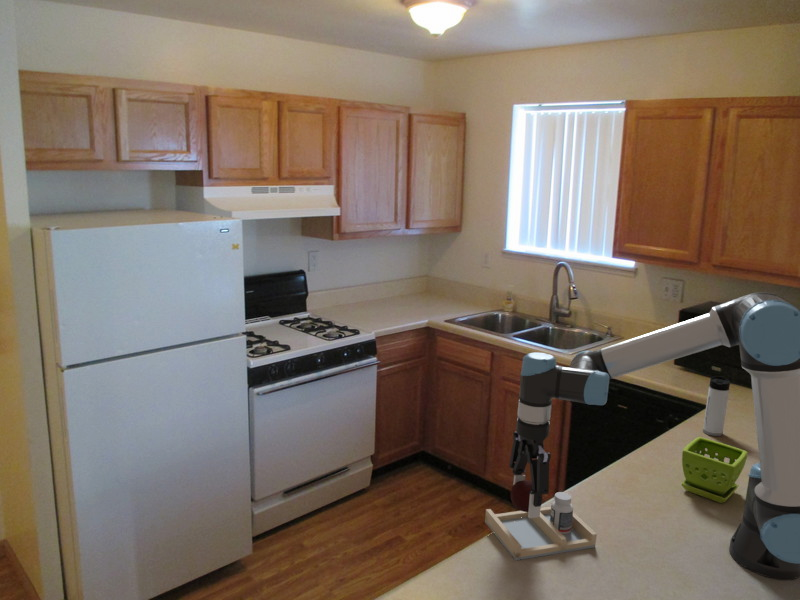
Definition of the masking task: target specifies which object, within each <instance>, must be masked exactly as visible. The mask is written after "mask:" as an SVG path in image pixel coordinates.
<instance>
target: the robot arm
mask: <svg viewBox="0 0 800 600" xmlns="http://www.w3.org/2000/svg"><path fill="white" fill-rule="evenodd" d="M719 346H725V347H728V348H732V347H736V346H739V347H738V348H739V354H740V364H741V368H742V369H744V370H745V371H746V372H747V373H749V375H750V379H751V388H752V389H751V391H752V399H753V407H754V409H753V410H754V418H755V428H756V430H755V431H756V438H757V448H758V450H757V451H758V458H759V462H757V463H754V464H753V465H751V468H750V471H749V473H748V481H747V488H746V494H745V501H744V507H743V515H742V520H741V522H740V523H739V525H738V527H737V529H735V531H734V533H733V535H732V536H731V538H730V540H729V547H728V551H729V554H730V556H731V558H733V560H734V561H736V562H737V563H738V564H739V565H741V566H743V568H745V569H747V570H749V571H751V572H753V573H755V574H757V575H758V574H759V575H760V576H764V577H766V578H771V579H776V580H794V579H798V578H799V577H800V309H798V308H797V307H796V306H794V305H792V304H791V303H790V302H788V301H787V299H785V298H784V297H781V295H778V294H776V293H773V292H767V291H761V292H758V291H757V292H756V291H755V292H753V293H749V294H746V295H742V296H740V297H737V298H734V299H732V300H730V301H729V300H728V301H726V302H723V303H720V304H717V305H715V306H712V307H711V309H710V311H709V312H708V313H705V314H702V315H699V316H695V317H694V318H690V319H687V320H685V321H684V320H683V321H681V322H678V323H675V324H672V325H669V326H666V327H664V328H660V329H657V330H654V331H651V332H648V333H645V334H642V335H639V336H635V337H633V338H629V339H627V340H623V341H620V342H618V343H614V344H612V345H608V346H606V347H603V348H600V349H596V350H593V351H592V350H583V351H579V352H578V353H577V354H576V355H575V356H574V357H572V360H571V361H570V362H571V363H570V364H569V367H568V366H562V365H558V364H557V359H556V357H555V356H554V355H552V354H549V353H545V352H535V351H534V352H529V353H527V354H525V355H524V356H523V357H522V362H521V363H522V364H521V371H520V379H519V381H520V382H519V392H518V394H519V395H518V405H517V419H516V427H515V428H516V429H515V431H513V433H512V437H513V440H512V441H513V442H512V448H511V454H510V459H509V468H510V469H512V474H513V483H512V486H513V485H514V484H515V483H516V482H518V481H526V473H527V471H526V467H527V464H529V467H530V479H531V480H530V481H532V490H533V491H530V499H529V510H528V517H529V518H536V517H540V509H541V508H542V503H543V495H544V496H545V495H549V494H550V493H549V492H550V461H551V458H552V455H551V453H550V452H546V451H545V446H544V445H545V444H544V441H545V440H546V439H548V437H549V435H550V426H551V422H550V420H551V413H552V407H553V406H552V403H553V399H555V400H556V399H557V400H563V401H569V402H574V403H575V402H576V403H580V404H587V405H590V406H591V405H593V406H604V405H606V403H607V401H608V393H609V385H610V380H612V379H615V378H617V377H621V376H624V375H628V374H631V373H635V372H637V371H640V370H644V369H648V368H650V367H655V366H658V365H660V364H664V363H667V362H670V361H673V360H676V359H680V358H683V357H686V356H691V355H692V354H693V355H694V354H696V353H700V352H703V351H706V350H709V349H713V348H716V347H719ZM541 502H542V503H541Z"/></svg>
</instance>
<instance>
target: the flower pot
mask: <svg viewBox="0 0 800 600" xmlns="http://www.w3.org/2000/svg"><path fill="white" fill-rule="evenodd" d="M681 453H682V454H681V457H682V458H681V461H682V462H681V463H682V466H681V467H682V472H683V475H684V480H683V481H682V482H681V486H682V488H683V489H684V490H685V491H687V492H688V493H692V494H696V495H698V496H700V497H703V498H707V499H709V500H712V501H714V502H717V503H719V504H723V503H725V502H726V501H727V500H728V499H729V498H730V497H731V496H732V495H733V494H734V493H735V491H736V490H737V489H738V487H739V484H738V483H736V482H737V480H738V479H739V477H740V475H741V473H742V471H743V469H744V468H745V465H746V462H747V458H748V454H749V453H748V451H746V450H744V449H741V448H738V447H735V446H733V445H729V444H725V443H722V442H720V441H716V440H712V439H709V438H705V437H703V436H702V437H701V436H698V437H696V438H695V439H693V440H691V442H689V443H688V444H687V445H686V446H685V447H684V448H683V450H682V452H681ZM716 454H717V455H716ZM705 455H708V456H709V457H708V456H705ZM725 458H727V459H729V462H725Z"/></svg>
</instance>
